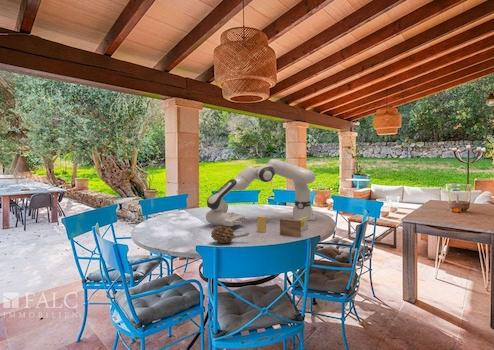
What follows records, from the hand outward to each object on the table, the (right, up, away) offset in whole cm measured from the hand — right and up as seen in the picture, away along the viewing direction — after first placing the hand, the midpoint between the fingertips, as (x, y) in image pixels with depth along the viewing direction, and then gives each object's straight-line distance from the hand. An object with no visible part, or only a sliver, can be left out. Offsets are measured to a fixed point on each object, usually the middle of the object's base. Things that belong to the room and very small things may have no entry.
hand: (244, 221), depth 189 cm
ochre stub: (+11, -6, -5) cm, 13 cm away
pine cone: (-8, -8, -27) cm, 29 cm away
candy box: (+36, -6, -4) cm, 37 cm away
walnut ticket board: (+28, -7, -14) cm, 32 cm away
